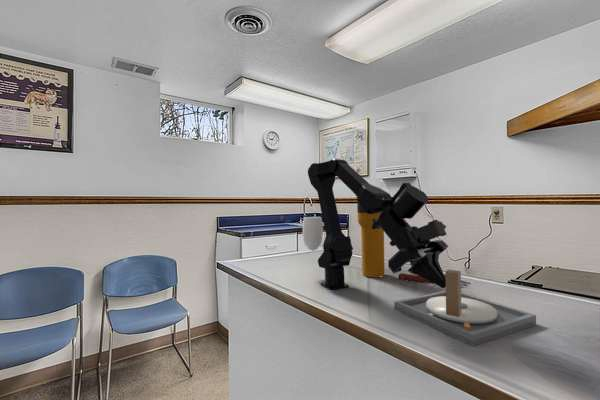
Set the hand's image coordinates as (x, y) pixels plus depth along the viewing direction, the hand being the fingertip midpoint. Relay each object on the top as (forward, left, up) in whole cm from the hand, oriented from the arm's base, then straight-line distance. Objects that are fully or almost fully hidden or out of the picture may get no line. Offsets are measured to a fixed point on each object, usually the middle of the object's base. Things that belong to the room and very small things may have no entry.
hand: (446, 286), depth 64 cm
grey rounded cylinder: (-48, -7, -8) cm, 49 cm away
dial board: (-1, +5, -8) cm, 9 cm away
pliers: (-24, +22, -8) cm, 34 cm away
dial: (-1, +5, -6) cm, 8 cm away
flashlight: (-39, +12, -8) cm, 42 cm away
